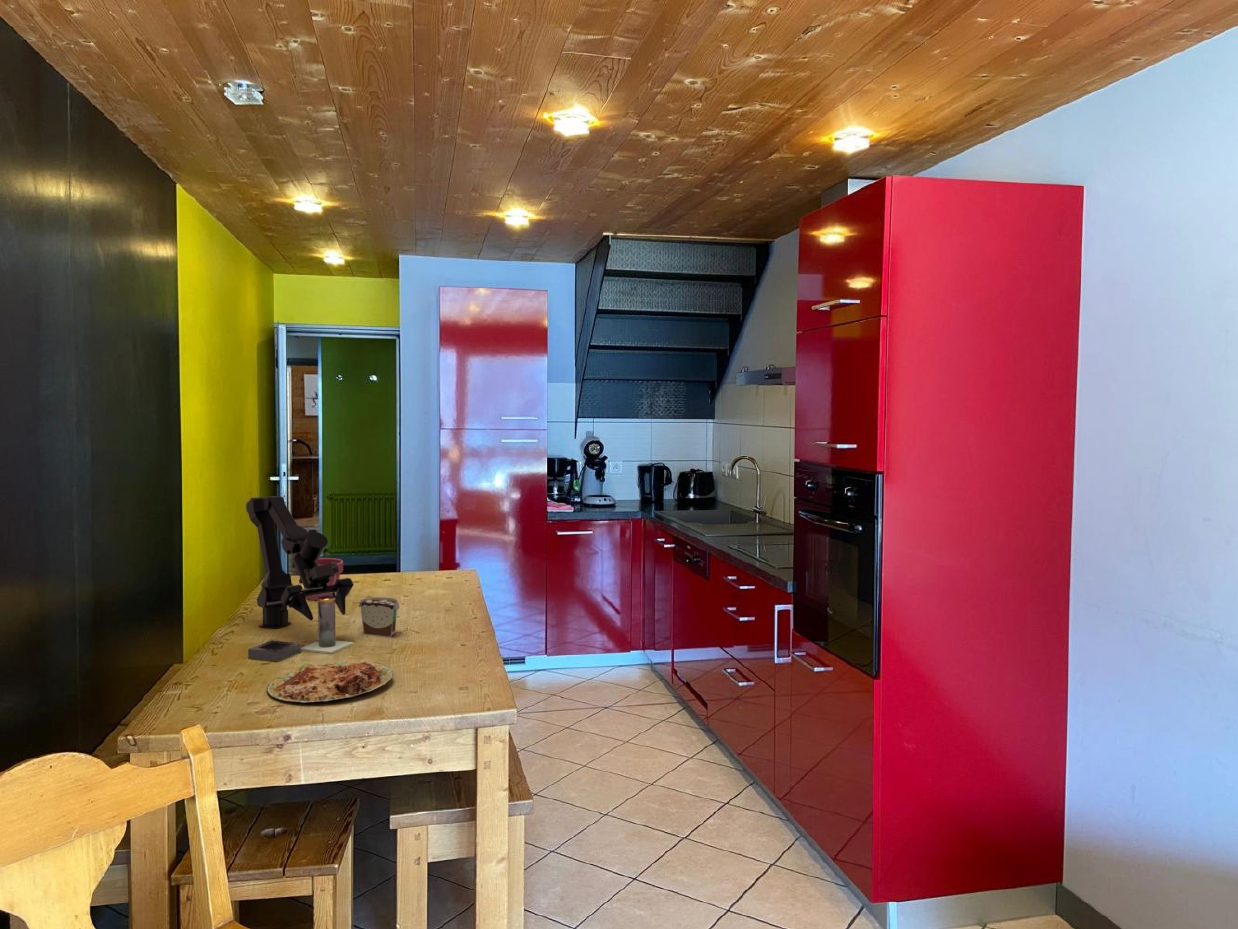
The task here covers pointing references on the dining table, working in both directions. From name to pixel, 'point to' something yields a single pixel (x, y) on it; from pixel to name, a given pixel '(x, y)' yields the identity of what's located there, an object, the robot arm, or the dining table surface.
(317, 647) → the rest pad
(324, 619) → the steel peg
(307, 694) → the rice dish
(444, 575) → the dining table surface
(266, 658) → the block
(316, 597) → the plant pot
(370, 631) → the food container
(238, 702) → the dining table surface
